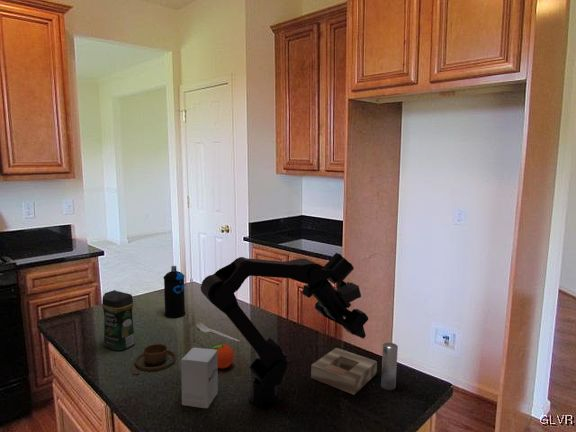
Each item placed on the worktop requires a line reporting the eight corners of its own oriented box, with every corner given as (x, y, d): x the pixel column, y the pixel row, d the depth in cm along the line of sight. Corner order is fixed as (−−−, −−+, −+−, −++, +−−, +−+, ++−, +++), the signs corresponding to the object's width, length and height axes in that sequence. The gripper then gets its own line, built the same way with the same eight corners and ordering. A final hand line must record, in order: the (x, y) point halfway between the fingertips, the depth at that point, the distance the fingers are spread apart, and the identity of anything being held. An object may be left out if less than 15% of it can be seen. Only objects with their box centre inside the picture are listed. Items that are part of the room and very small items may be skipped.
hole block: (353, 394, 112) (354, 380, 111) (311, 377, 120) (311, 364, 120) (376, 373, 123) (376, 360, 123) (335, 359, 131) (336, 347, 131)
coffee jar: (99, 346, 138) (97, 293, 135) (119, 337, 145) (117, 286, 142) (119, 353, 133) (116, 298, 131) (139, 344, 140) (137, 291, 137)
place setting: (171, 348, 139) (171, 331, 138) (206, 369, 125) (206, 351, 125) (120, 366, 127) (119, 348, 126) (152, 392, 113) (151, 372, 112)
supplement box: (208, 409, 105) (207, 362, 103) (181, 405, 106) (179, 359, 104) (218, 393, 112) (218, 349, 110) (193, 389, 113) (192, 346, 112)
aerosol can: (160, 316, 164) (158, 267, 161) (171, 309, 172) (170, 262, 169) (178, 319, 162) (177, 269, 159) (189, 312, 169) (188, 264, 167)
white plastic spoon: (236, 344, 142) (236, 339, 142) (195, 329, 153) (195, 324, 153) (242, 341, 145) (242, 336, 145) (201, 326, 156) (201, 321, 156)
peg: (392, 391, 114) (394, 350, 112) (378, 386, 116) (380, 346, 115) (397, 385, 117) (400, 345, 115) (384, 380, 120) (386, 341, 118)
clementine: (208, 374, 121) (207, 351, 120) (206, 363, 128) (206, 341, 127) (235, 371, 124) (235, 348, 123) (232, 360, 130) (232, 338, 129)
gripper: (367, 283, 107) (394, 322, 113) (328, 266, 124) (353, 300, 130) (338, 315, 104) (367, 352, 110) (302, 293, 121) (329, 326, 127)
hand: (354, 330), depth 119 cm, fingers open, 9 cm apart
